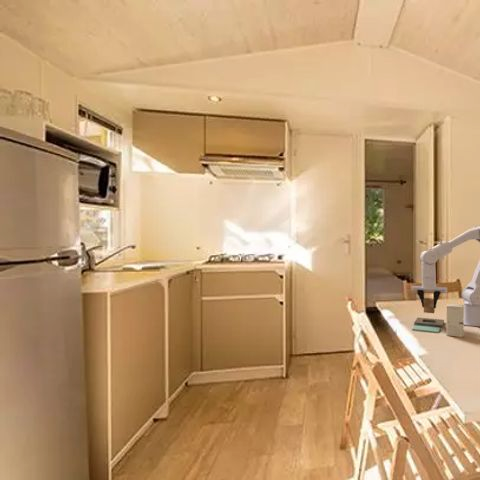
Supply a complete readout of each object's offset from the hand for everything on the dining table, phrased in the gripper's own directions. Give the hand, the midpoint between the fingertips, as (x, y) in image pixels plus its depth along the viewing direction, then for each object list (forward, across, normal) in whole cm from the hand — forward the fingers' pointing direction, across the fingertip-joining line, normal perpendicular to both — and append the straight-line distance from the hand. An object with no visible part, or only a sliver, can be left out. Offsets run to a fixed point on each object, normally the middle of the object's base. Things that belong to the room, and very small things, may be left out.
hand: (429, 307), depth 173 cm
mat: (+7, 0, +12) cm, 14 cm away
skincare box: (+8, -11, +16) cm, 21 cm away
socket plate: (+7, 0, 0) cm, 7 cm away
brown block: (+2, 0, 0) cm, 2 cm away
